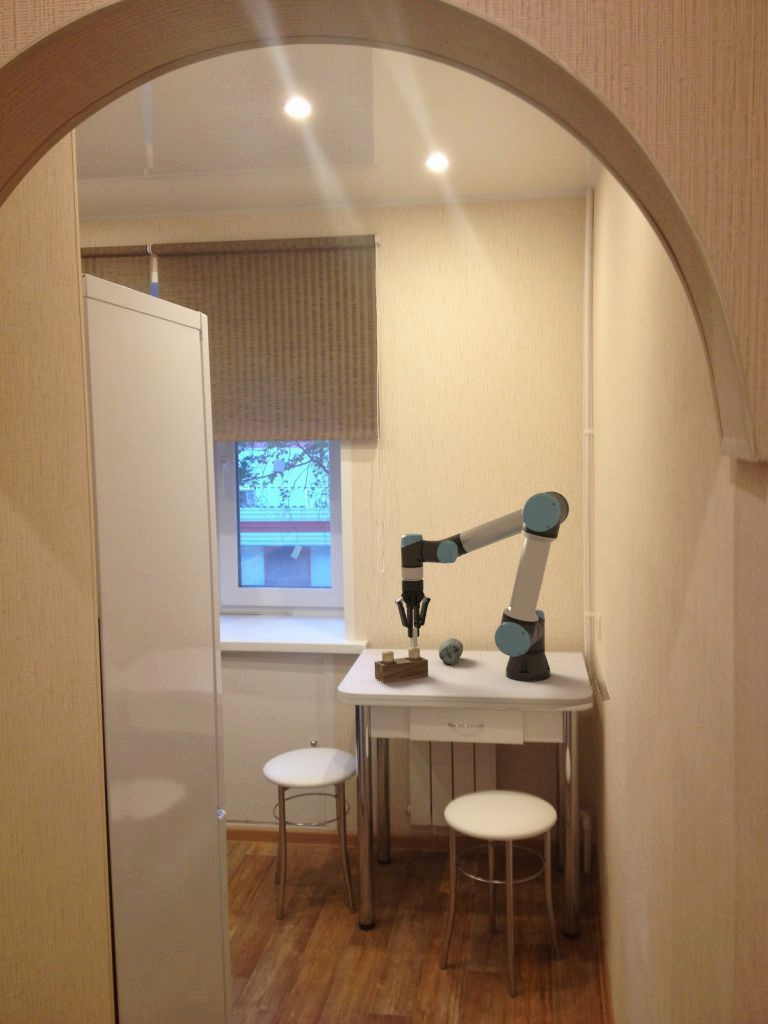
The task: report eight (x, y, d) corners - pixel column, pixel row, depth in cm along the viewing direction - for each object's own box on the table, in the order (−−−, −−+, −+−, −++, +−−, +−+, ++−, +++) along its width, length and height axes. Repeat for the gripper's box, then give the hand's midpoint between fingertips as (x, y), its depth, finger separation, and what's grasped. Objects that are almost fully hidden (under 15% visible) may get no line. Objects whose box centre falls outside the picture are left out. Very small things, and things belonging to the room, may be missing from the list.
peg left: (396, 667, 305) (395, 652, 305) (385, 668, 303) (384, 654, 303) (391, 664, 309) (390, 650, 308) (380, 666, 307) (380, 651, 307)
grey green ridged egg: (464, 657, 321) (452, 632, 324) (441, 669, 323) (429, 644, 326) (472, 658, 334) (460, 634, 337) (449, 669, 336) (438, 645, 339)
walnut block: (428, 676, 309) (427, 659, 308) (383, 683, 302) (383, 665, 301) (419, 672, 315) (418, 655, 315) (375, 678, 308) (374, 661, 308)
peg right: (422, 663, 309) (421, 649, 309) (411, 665, 308) (411, 650, 307) (416, 661, 313) (416, 647, 313) (406, 662, 311) (406, 648, 311)
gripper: (424, 576, 314) (425, 642, 316) (390, 579, 309) (392, 646, 311) (434, 578, 307) (435, 646, 309) (400, 582, 302) (401, 650, 304)
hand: (413, 646), depth 310 cm, fingers closed
